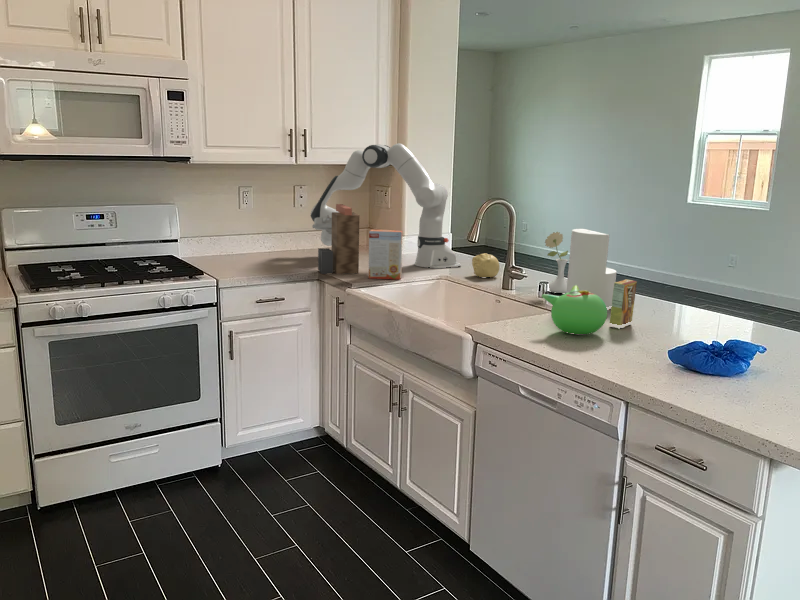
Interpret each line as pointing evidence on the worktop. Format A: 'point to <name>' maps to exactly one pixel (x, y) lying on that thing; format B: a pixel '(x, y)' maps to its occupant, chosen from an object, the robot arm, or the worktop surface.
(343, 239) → the walnut stand
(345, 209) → the bar
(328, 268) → the domino
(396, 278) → the cracker box
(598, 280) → the cylinder
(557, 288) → the flower in vase
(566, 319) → the round teapot
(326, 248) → the domino
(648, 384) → the worktop surface
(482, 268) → the pale yellow lumpy ball
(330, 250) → the domino
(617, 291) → the candy box
